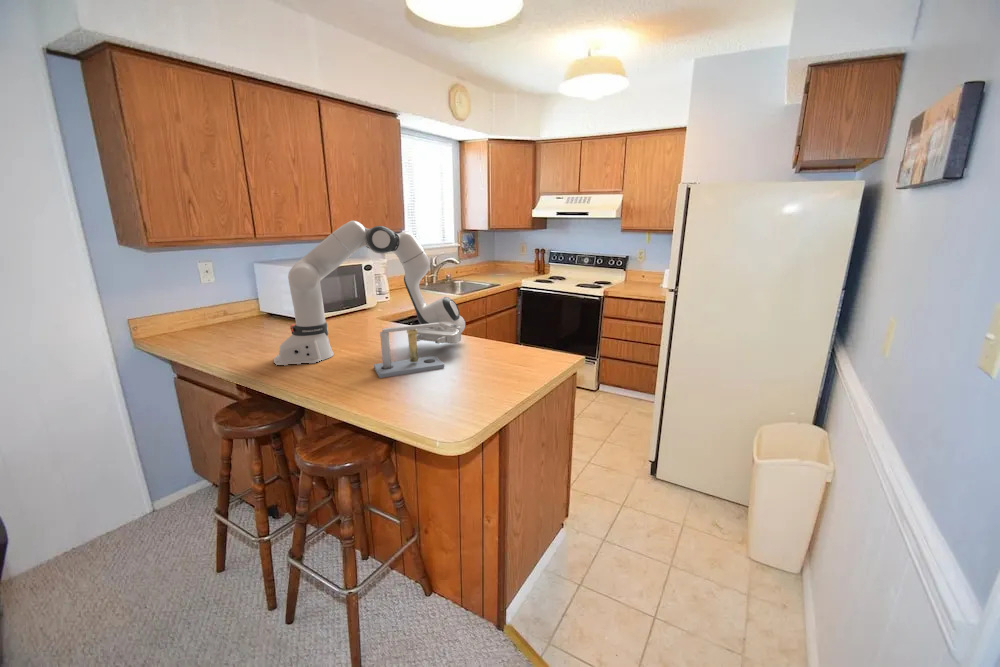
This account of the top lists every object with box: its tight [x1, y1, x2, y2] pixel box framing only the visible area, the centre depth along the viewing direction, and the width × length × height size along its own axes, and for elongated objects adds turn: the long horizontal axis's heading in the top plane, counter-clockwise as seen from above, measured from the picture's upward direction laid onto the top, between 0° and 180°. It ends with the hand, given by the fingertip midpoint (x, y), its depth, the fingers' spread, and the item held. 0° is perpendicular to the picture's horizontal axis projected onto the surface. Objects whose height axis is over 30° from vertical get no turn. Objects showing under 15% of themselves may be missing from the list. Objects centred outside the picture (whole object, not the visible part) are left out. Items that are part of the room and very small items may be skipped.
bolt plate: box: [373, 323, 445, 379], centre depth 160 cm, size 24×12×16 cm, turn 114°
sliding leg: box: [406, 329, 419, 362], centre depth 161 cm, size 3×3×12 cm
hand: (426, 340), depth 170 cm, fingers open, 8 cm apart
